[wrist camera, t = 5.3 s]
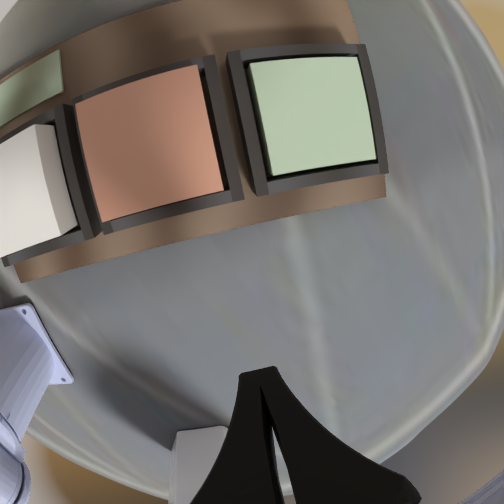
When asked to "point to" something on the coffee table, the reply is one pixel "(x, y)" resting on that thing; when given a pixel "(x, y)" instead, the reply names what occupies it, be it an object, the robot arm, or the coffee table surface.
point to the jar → (193, 461)
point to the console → (218, 110)
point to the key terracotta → (149, 143)
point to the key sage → (310, 113)
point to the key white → (32, 190)
